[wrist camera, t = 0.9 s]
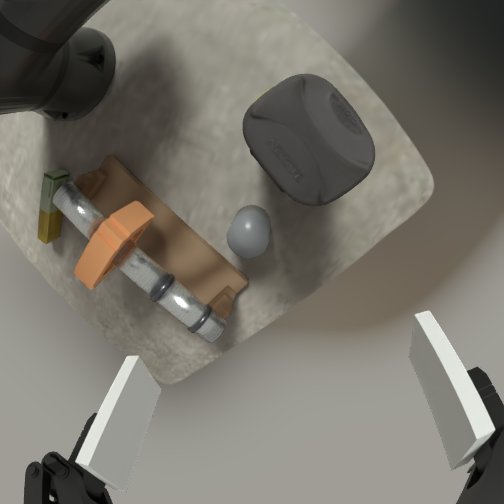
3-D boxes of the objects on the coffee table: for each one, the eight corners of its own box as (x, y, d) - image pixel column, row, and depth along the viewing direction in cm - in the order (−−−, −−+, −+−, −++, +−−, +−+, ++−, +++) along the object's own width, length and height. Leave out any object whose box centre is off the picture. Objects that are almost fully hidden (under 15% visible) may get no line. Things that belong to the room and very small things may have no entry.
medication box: (59, 167, 37) (43, 171, 34) (70, 172, 38) (54, 177, 34) (50, 231, 42) (36, 239, 39) (60, 237, 42) (46, 245, 39)
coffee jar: (343, 149, 34) (403, 168, 17) (294, 185, 36) (310, 236, 19) (296, 88, 31) (313, 47, 14) (246, 126, 34) (215, 121, 17)
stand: (84, 200, 39) (58, 212, 33) (111, 154, 36) (84, 161, 30) (209, 313, 45) (200, 340, 39) (248, 279, 42) (243, 305, 36)
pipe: (66, 200, 32) (47, 209, 29) (78, 176, 31) (58, 183, 27) (210, 329, 38) (203, 349, 35) (229, 313, 37) (224, 333, 33)
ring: (107, 246, 38) (69, 277, 29) (141, 196, 34) (101, 220, 26) (122, 260, 38) (87, 294, 30) (158, 212, 35) (122, 240, 26)
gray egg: (227, 222, 39) (218, 238, 33) (251, 197, 37) (246, 210, 32) (252, 246, 40) (248, 265, 34) (278, 223, 38) (277, 239, 33)
